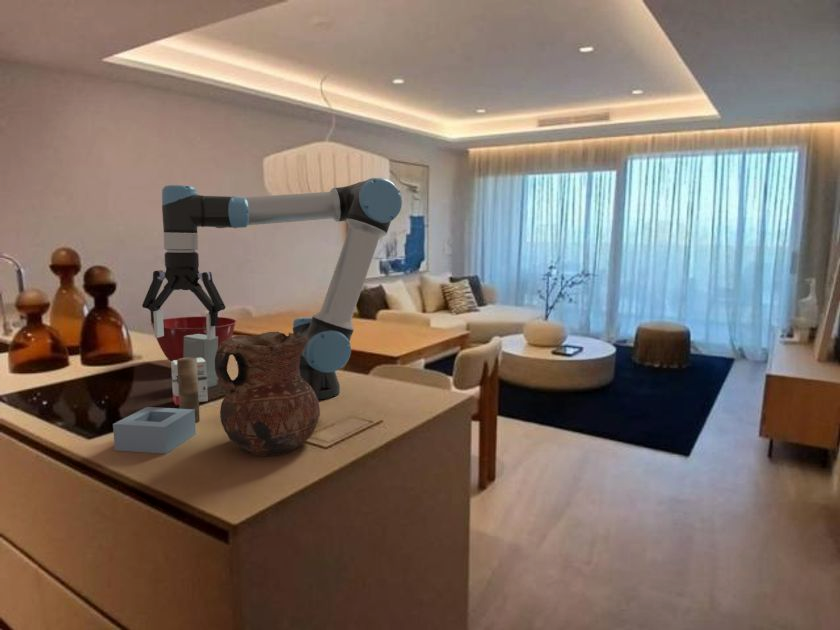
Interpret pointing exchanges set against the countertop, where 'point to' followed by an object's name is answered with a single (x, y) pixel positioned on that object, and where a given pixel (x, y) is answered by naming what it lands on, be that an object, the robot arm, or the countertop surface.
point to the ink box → (201, 380)
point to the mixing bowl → (190, 333)
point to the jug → (266, 393)
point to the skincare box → (203, 353)
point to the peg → (188, 385)
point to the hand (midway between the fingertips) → (185, 338)
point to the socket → (154, 430)
